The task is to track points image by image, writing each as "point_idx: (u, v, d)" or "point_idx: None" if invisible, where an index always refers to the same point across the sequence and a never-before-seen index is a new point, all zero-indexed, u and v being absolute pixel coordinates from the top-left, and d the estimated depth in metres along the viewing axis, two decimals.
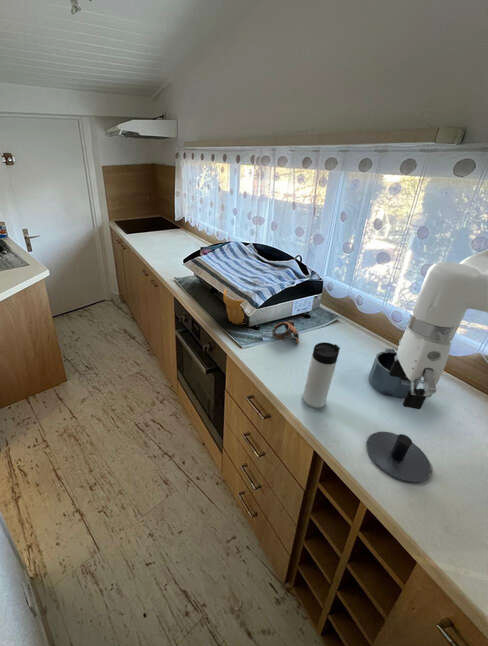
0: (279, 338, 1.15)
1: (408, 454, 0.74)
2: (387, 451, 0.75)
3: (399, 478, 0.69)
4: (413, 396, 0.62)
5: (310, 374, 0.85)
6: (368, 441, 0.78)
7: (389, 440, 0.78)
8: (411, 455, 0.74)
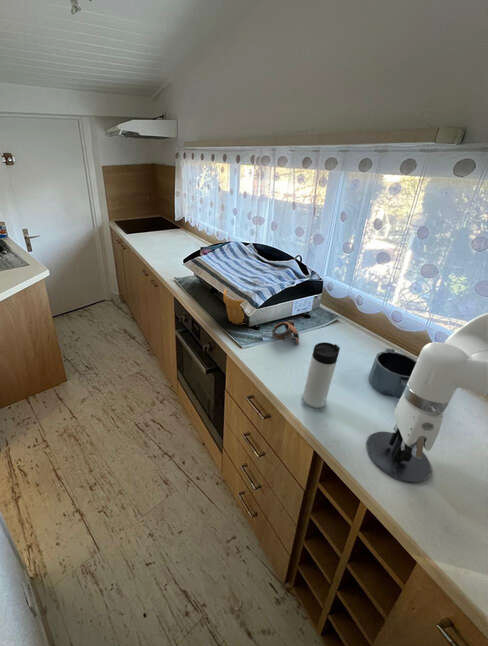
0: (279, 338, 1.15)
1: None
2: (387, 451, 0.75)
3: (399, 478, 0.69)
4: (403, 451, 0.70)
5: (310, 374, 0.85)
6: (368, 441, 0.78)
7: (389, 440, 0.78)
8: None
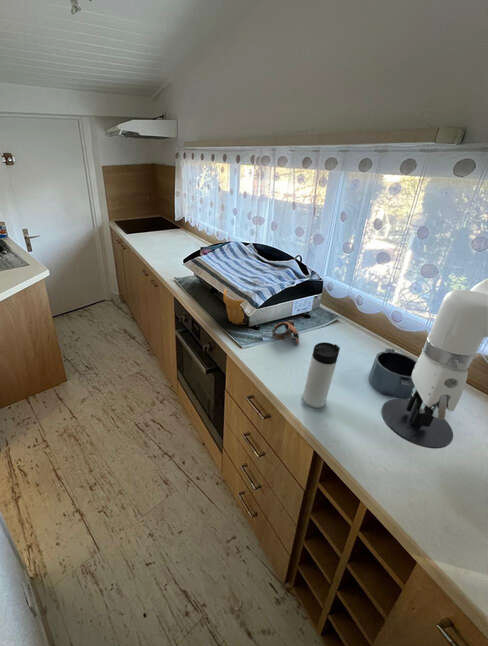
0: (279, 338, 1.15)
1: None
2: (404, 417, 0.70)
3: (419, 444, 0.64)
4: (422, 415, 0.65)
5: (310, 374, 0.85)
6: (383, 408, 0.72)
7: None
8: None
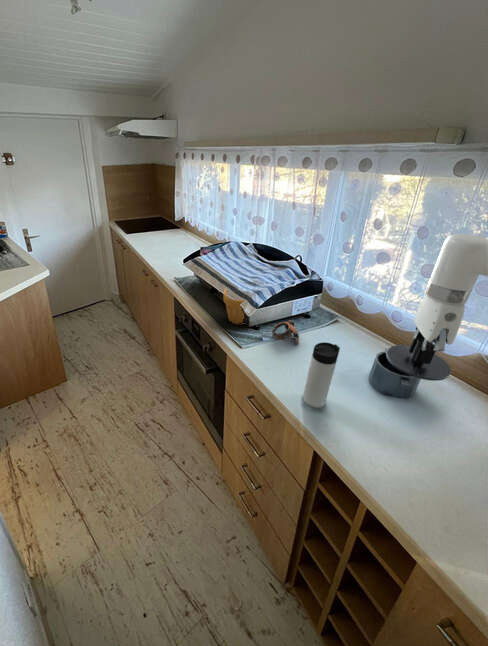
0: (279, 338, 1.15)
1: None
2: (407, 358, 0.77)
3: (421, 377, 0.71)
4: (424, 352, 0.72)
5: (310, 374, 0.85)
6: (388, 351, 0.80)
7: (408, 350, 0.80)
8: (431, 360, 0.76)
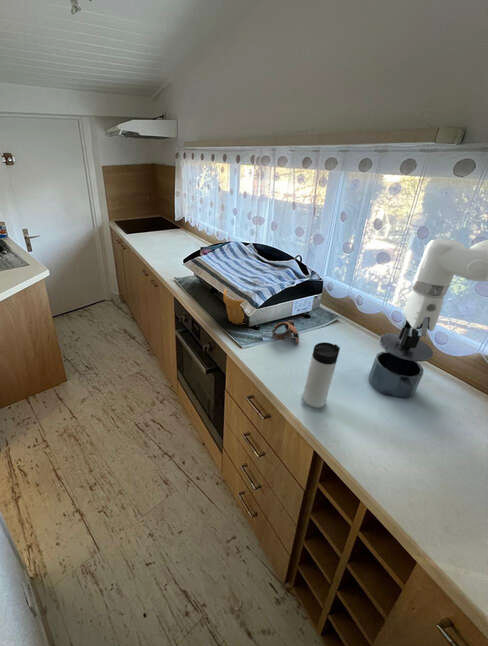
0: (279, 338, 1.15)
1: None
2: (397, 343, 0.91)
3: (407, 358, 0.85)
4: (410, 337, 0.86)
5: (310, 374, 0.85)
6: (381, 338, 0.93)
7: (398, 337, 0.94)
8: (417, 345, 0.90)
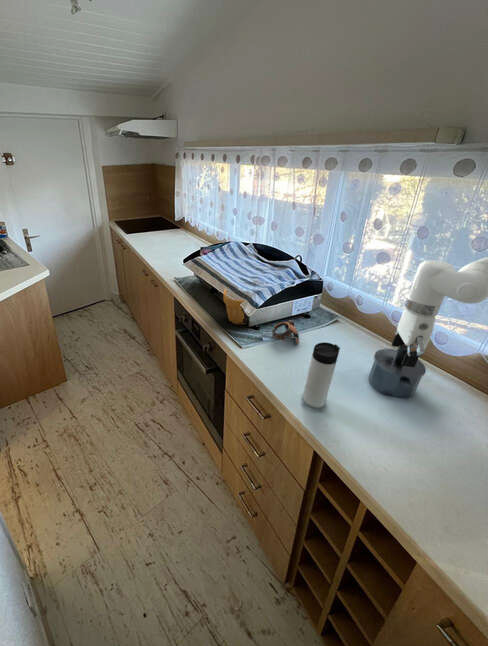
0: (279, 338, 1.15)
1: None
2: (391, 360, 0.94)
3: (400, 375, 0.88)
4: (409, 357, 0.85)
5: (310, 374, 0.85)
6: (375, 354, 0.96)
7: (392, 354, 0.96)
8: None
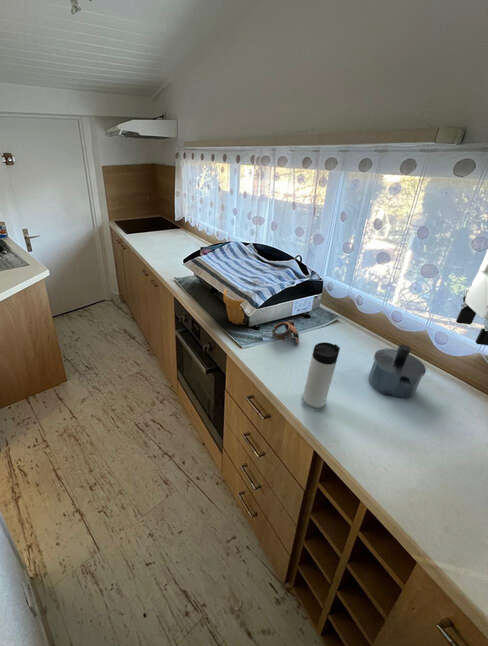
0: (279, 338, 1.15)
1: (407, 362, 0.93)
2: (391, 360, 0.94)
3: (400, 375, 0.88)
4: (487, 332, 0.69)
5: (310, 374, 0.85)
6: (375, 354, 0.96)
7: (392, 354, 0.96)
8: (410, 362, 0.93)
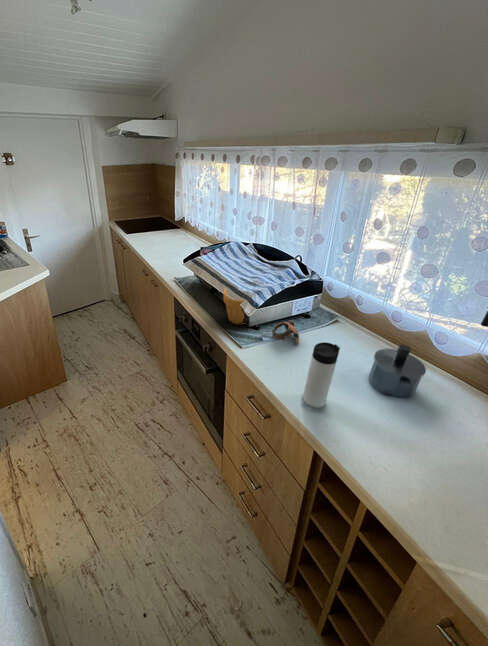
0: (279, 338, 1.15)
1: (407, 362, 0.93)
2: (391, 360, 0.94)
3: (400, 375, 0.88)
4: None
5: (310, 374, 0.85)
6: (375, 354, 0.96)
7: (392, 354, 0.96)
8: (410, 362, 0.93)
